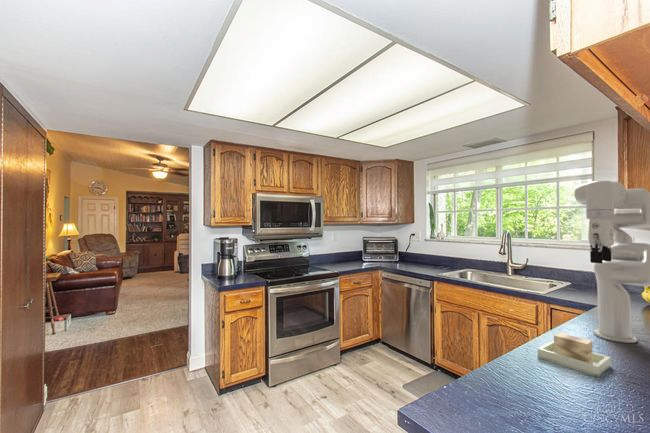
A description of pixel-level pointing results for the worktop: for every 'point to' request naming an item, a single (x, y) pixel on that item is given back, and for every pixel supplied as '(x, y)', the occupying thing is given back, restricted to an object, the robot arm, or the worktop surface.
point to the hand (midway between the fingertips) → (601, 261)
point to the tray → (575, 360)
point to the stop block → (573, 347)
